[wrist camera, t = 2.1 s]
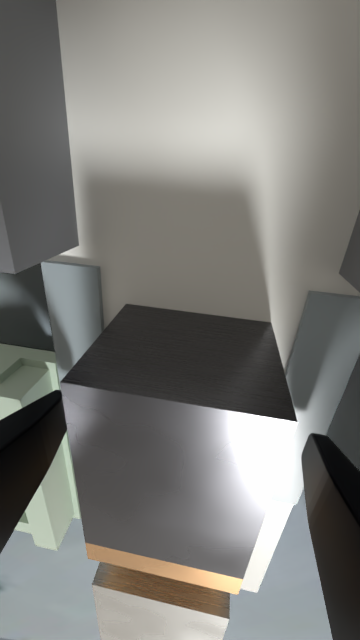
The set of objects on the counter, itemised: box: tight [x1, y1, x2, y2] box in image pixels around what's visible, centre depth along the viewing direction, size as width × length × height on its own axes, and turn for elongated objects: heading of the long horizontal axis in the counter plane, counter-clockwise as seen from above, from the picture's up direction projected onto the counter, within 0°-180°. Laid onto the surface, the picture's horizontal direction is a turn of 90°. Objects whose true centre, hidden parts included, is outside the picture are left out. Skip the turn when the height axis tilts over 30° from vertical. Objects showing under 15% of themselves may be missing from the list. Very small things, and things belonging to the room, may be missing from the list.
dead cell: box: [92, 562, 230, 640], centre depth 11 cm, size 4×6×4 cm, turn 176°
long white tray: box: [0, 0, 360, 593], centre depth 8 cm, size 9×24×3 cm, turn 176°
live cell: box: [60, 304, 297, 595], centre depth 8 cm, size 4×6×4 cm, turn 176°
